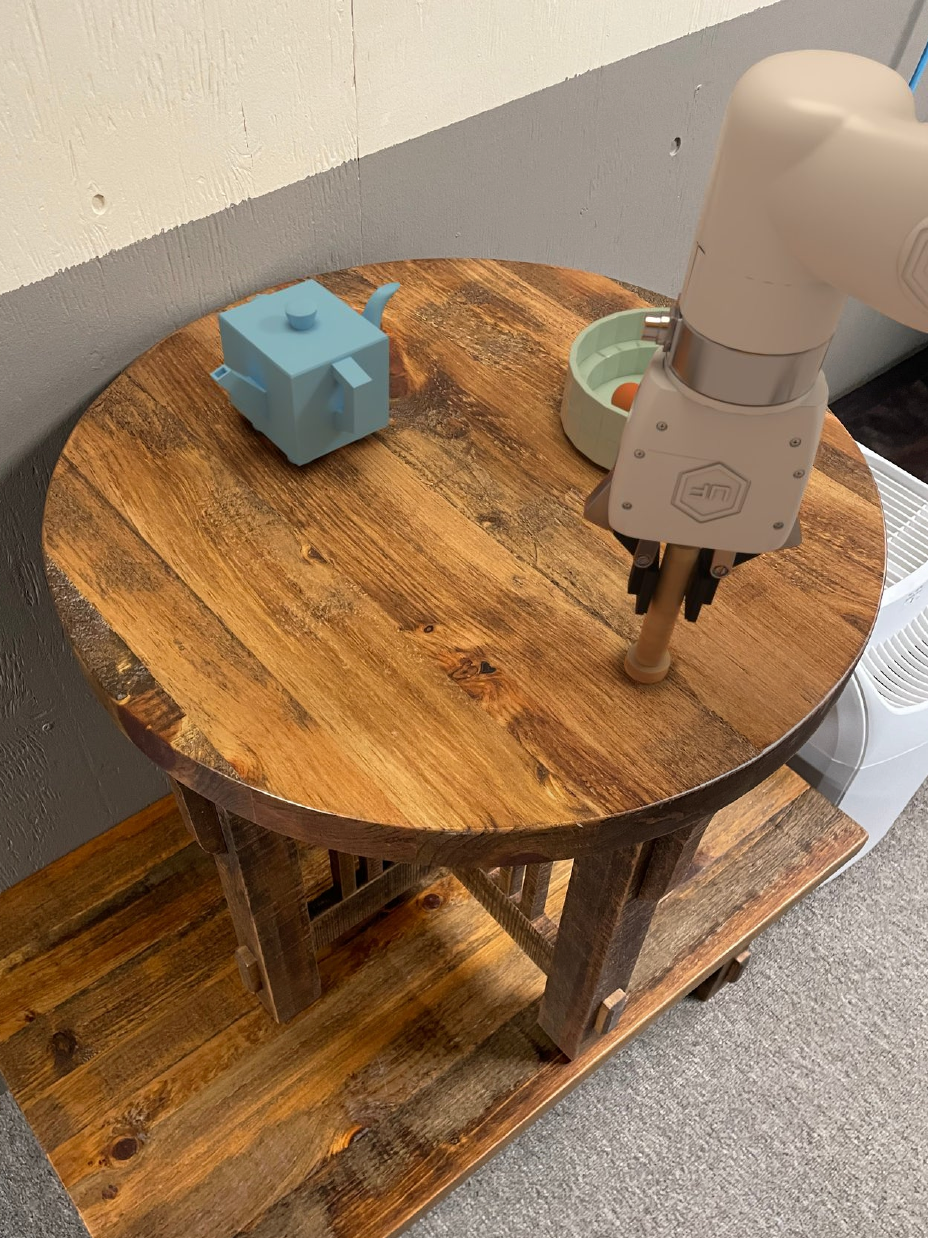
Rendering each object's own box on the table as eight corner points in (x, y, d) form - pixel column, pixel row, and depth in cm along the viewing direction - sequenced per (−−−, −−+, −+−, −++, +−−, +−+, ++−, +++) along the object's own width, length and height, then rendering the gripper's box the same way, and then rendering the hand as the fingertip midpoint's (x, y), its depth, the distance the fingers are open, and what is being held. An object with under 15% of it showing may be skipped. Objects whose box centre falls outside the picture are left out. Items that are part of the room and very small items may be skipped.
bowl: (758, 380, 90) (778, 318, 86) (763, 503, 80) (787, 441, 75) (568, 358, 92) (578, 297, 88) (550, 475, 82) (560, 414, 77)
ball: (644, 407, 87) (651, 377, 85) (642, 428, 85) (649, 397, 83) (609, 403, 87) (615, 373, 85) (607, 423, 85) (613, 393, 83)
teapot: (180, 419, 87) (156, 297, 78) (349, 349, 93) (345, 229, 84) (279, 517, 79) (265, 394, 70) (456, 433, 86) (463, 311, 77)
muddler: (667, 654, 70) (711, 525, 61) (666, 687, 68) (711, 558, 59) (624, 648, 71) (661, 518, 61) (622, 680, 69) (659, 551, 59)
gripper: (578, 370, 49) (534, 627, 63) (923, 410, 47) (796, 665, 61) (589, 290, 53) (547, 547, 68) (905, 323, 51) (791, 580, 66)
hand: (666, 601), depth 64 cm, fingers closed
